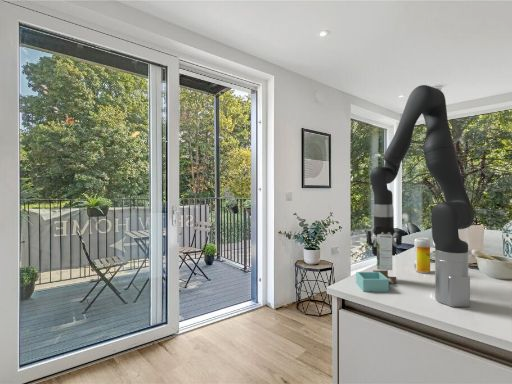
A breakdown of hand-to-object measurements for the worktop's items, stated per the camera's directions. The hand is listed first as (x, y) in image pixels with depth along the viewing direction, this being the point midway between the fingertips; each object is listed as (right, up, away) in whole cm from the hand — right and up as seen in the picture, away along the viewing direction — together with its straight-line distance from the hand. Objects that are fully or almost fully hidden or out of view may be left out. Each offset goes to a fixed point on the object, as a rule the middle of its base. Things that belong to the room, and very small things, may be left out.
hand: (384, 255), depth 119 cm
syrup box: (0, -6, 0) cm, 6 cm away
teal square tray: (-8, -11, -8) cm, 16 cm away
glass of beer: (+21, -10, +10) cm, 25 cm away
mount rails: (0, -10, -1) cm, 10 cm away
